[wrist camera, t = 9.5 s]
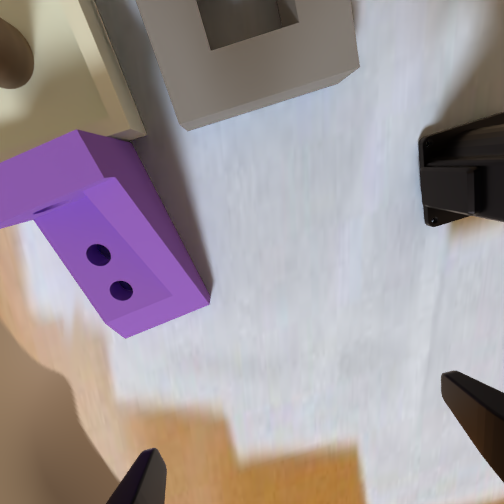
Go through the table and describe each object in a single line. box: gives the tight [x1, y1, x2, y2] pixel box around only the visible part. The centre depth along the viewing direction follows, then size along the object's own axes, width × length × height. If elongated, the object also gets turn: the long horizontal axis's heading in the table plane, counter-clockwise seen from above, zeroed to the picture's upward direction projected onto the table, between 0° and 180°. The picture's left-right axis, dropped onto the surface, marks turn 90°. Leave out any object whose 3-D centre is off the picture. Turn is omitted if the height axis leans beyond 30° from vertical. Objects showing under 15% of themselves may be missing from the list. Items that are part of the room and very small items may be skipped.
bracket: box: [0, 129, 210, 339], centre depth 16 cm, size 12×7×7 cm, turn 22°
